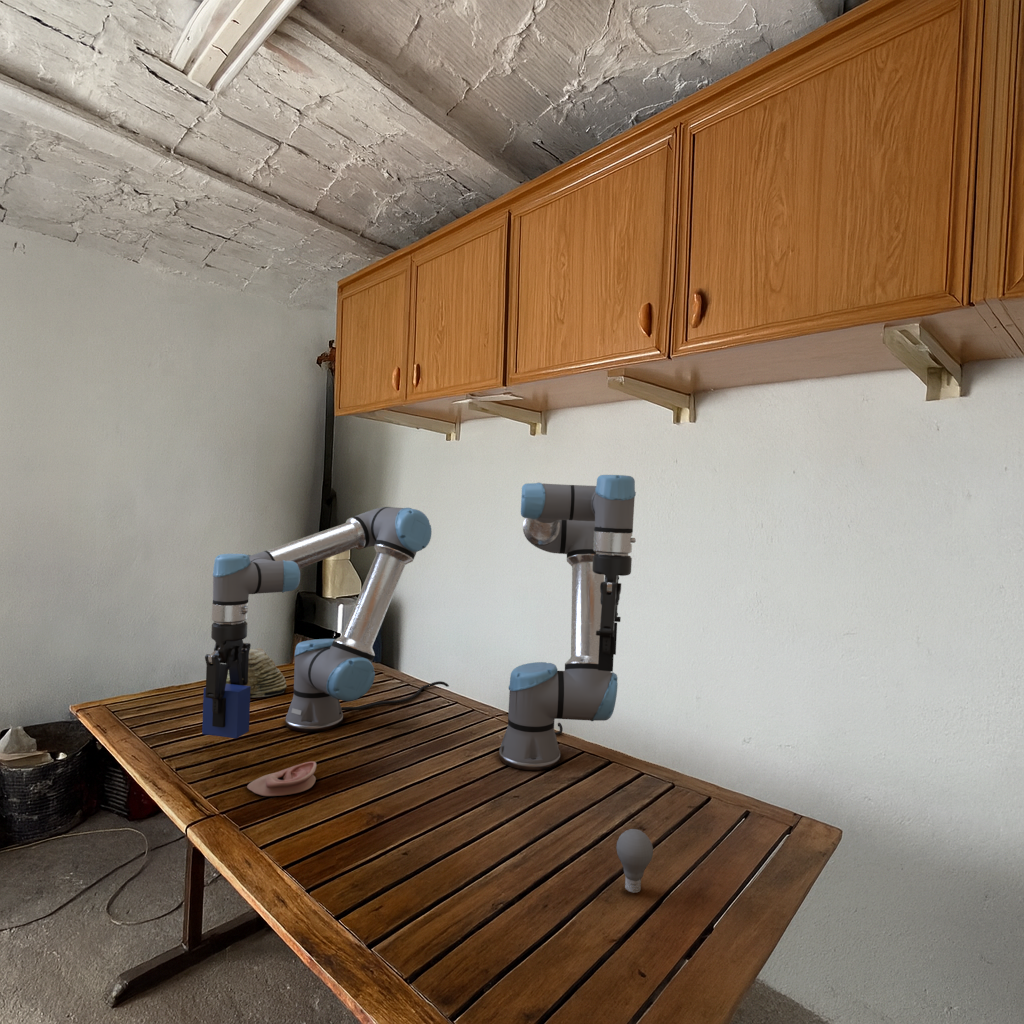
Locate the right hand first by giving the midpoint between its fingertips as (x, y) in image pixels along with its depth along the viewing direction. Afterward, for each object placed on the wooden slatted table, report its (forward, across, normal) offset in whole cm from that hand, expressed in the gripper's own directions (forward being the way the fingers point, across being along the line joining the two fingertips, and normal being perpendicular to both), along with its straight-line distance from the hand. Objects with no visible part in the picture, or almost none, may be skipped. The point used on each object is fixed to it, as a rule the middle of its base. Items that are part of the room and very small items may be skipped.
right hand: (607, 661), depth 124 cm
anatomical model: (+34, -1, +69) cm, 76 cm away
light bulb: (+34, -18, -7) cm, 39 cm away
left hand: (+23, +4, +86) cm, 89 cm away
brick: (+26, +4, +86) cm, 90 cm away
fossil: (+34, +52, +111) cm, 127 cm away
